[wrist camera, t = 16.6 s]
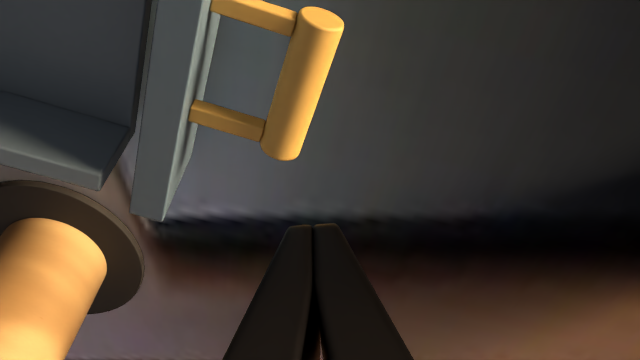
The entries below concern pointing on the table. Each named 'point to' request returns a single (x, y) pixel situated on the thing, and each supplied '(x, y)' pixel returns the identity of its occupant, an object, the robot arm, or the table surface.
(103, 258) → the pepper mill
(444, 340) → the table surface
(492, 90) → the table surface
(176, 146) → the drawer
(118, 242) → the coaster
